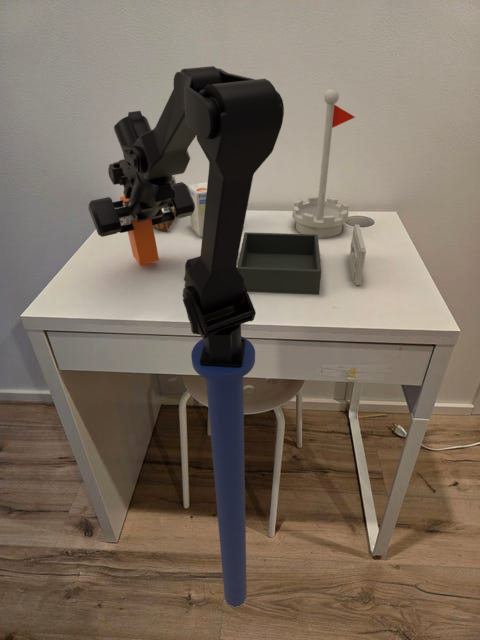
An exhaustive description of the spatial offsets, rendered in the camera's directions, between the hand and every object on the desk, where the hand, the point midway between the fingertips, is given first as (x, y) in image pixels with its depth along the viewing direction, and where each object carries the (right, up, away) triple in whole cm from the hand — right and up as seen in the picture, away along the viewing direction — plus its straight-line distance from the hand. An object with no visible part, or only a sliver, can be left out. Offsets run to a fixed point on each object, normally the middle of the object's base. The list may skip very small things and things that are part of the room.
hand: (137, 226), depth 88 cm
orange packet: (+1, -6, +3) cm, 7 cm away
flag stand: (+40, +3, +17) cm, 44 cm away
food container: (+1, +5, +21) cm, 22 cm away
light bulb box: (+15, +3, +18) cm, 24 cm away
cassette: (+44, -9, +1) cm, 45 cm away
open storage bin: (+29, -9, +1) cm, 30 cm away
